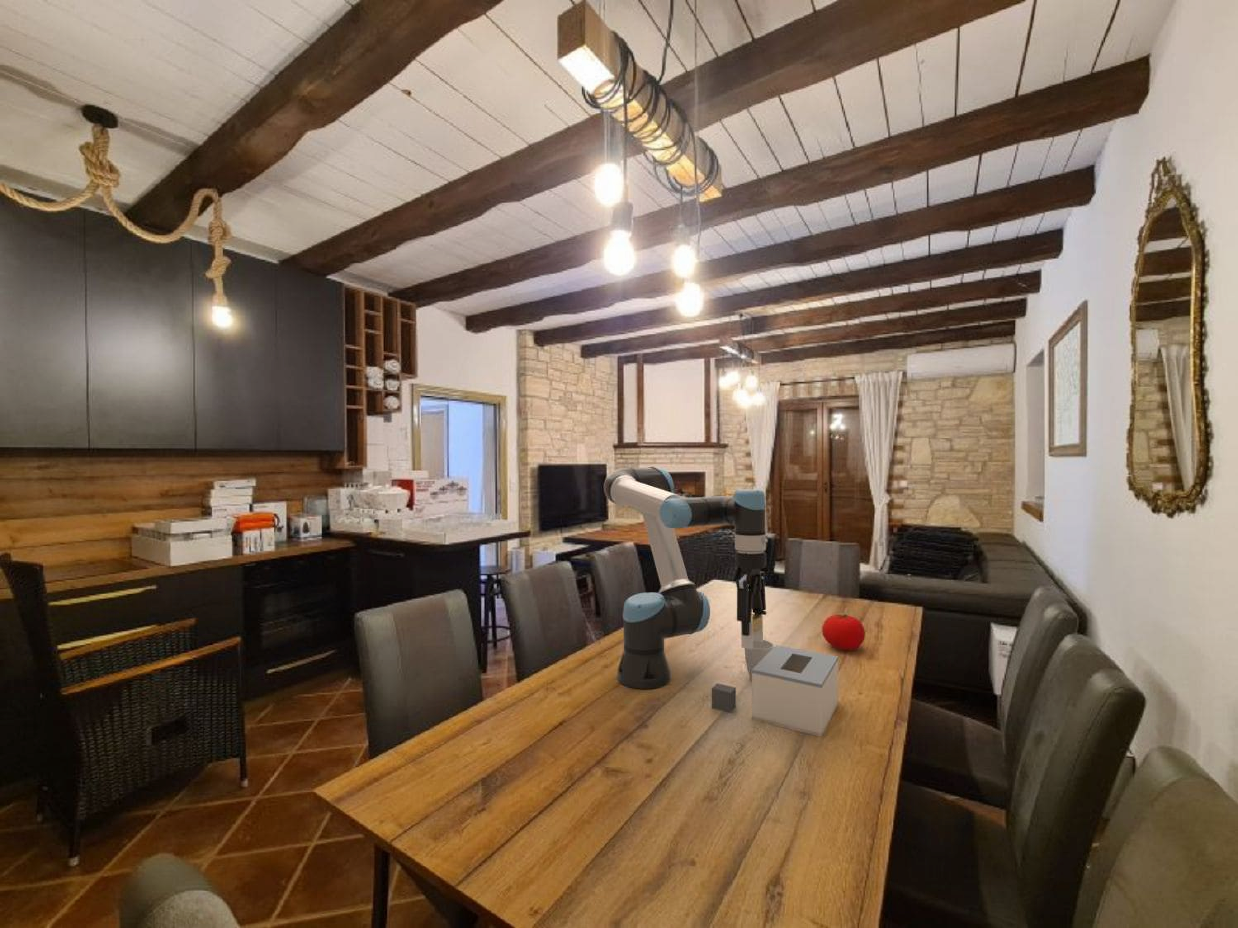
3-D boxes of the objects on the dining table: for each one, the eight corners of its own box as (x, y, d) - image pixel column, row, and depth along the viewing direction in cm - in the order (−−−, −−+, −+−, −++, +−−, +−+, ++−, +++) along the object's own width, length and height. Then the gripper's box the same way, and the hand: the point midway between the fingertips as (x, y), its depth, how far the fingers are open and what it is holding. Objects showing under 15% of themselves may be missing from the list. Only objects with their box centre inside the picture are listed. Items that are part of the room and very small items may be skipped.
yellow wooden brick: (741, 631, 133) (741, 619, 133) (750, 625, 138) (750, 613, 138) (753, 633, 132) (753, 621, 132) (762, 627, 137) (761, 615, 137)
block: (711, 707, 137) (711, 688, 137) (716, 702, 140) (717, 683, 140) (730, 712, 134) (730, 692, 134) (735, 707, 137) (735, 687, 137)
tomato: (873, 651, 176) (873, 617, 176) (841, 657, 171) (841, 622, 171) (845, 639, 187) (845, 608, 187) (815, 644, 182) (815, 612, 182)
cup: (774, 685, 150) (774, 649, 150) (744, 683, 151) (744, 647, 151) (772, 674, 158) (772, 640, 157) (743, 671, 159) (743, 638, 159)
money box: (752, 718, 131) (752, 669, 131) (775, 688, 148) (776, 644, 148) (821, 737, 122) (821, 684, 122) (838, 702, 139) (838, 656, 139)
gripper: (750, 557, 125) (752, 658, 125) (778, 547, 141) (779, 636, 141) (720, 555, 130) (722, 652, 129) (750, 545, 145) (752, 632, 145)
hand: (752, 644), depth 135 cm, fingers closed on yellow wooden brick, 6 cm apart
